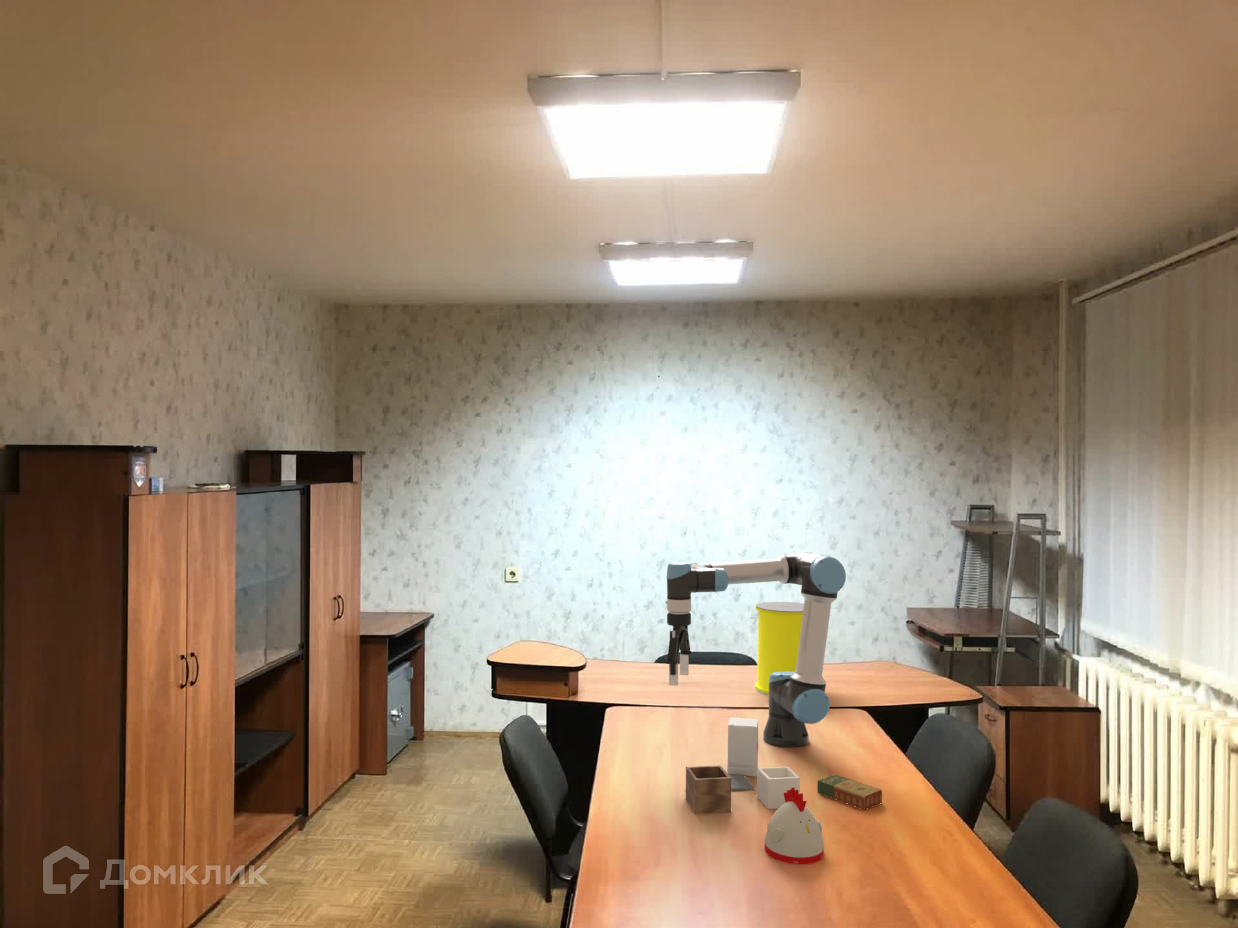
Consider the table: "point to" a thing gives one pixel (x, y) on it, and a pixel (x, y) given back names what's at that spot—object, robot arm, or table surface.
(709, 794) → the walnut pot
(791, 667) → the container
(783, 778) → the ceramic pot
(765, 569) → the robot arm
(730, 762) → the supplement box
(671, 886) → the table surface
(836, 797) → the carton
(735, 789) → the coaster
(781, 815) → the kitchen timer
